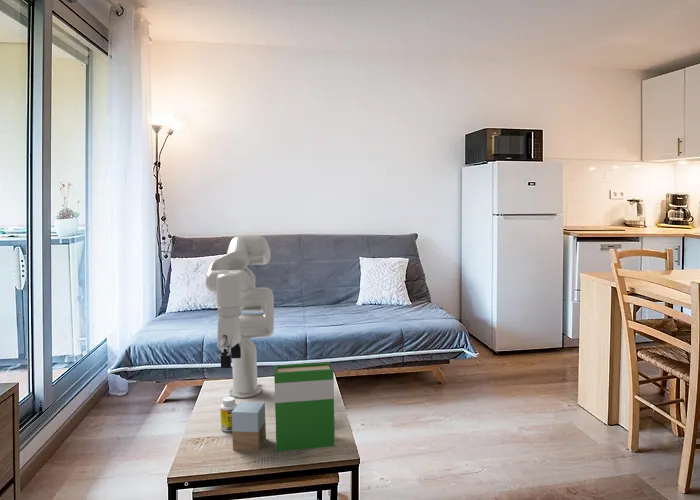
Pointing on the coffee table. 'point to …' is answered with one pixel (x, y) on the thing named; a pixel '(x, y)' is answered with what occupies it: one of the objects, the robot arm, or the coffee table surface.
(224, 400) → the supplement bottle
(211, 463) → the coffee table surface
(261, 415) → the slate block
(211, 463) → the coffee table surface
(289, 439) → the hardback book
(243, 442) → the walnut block
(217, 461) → the coffee table surface
